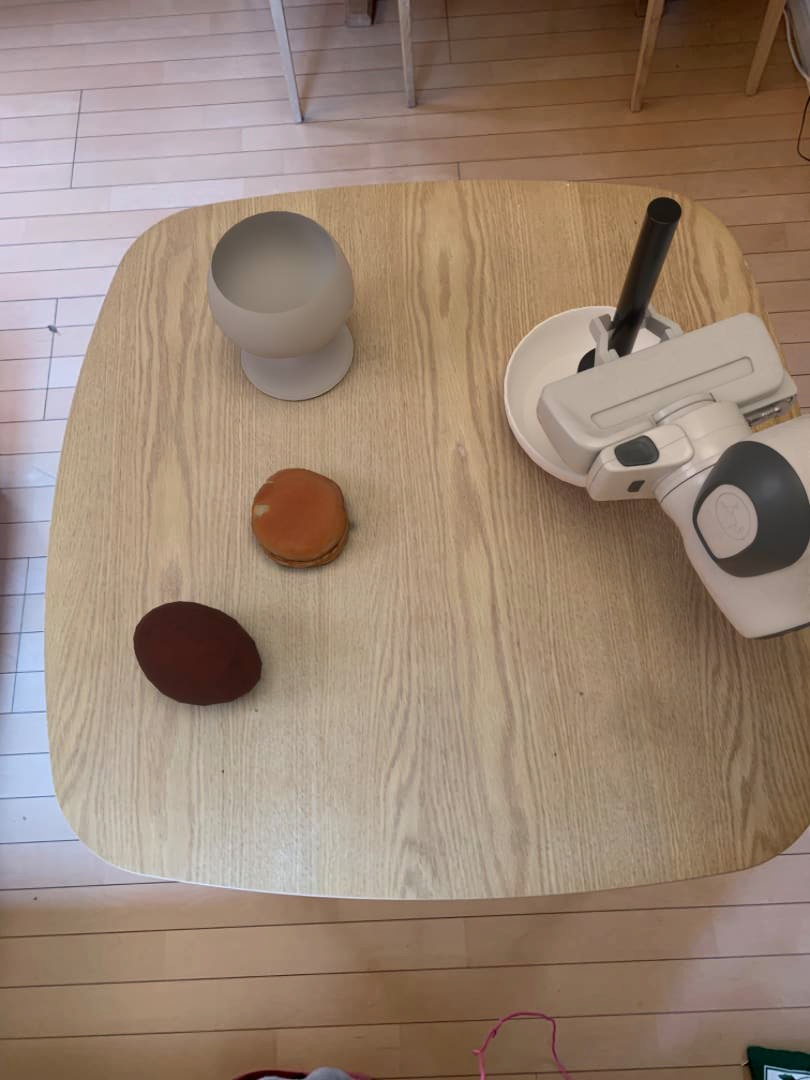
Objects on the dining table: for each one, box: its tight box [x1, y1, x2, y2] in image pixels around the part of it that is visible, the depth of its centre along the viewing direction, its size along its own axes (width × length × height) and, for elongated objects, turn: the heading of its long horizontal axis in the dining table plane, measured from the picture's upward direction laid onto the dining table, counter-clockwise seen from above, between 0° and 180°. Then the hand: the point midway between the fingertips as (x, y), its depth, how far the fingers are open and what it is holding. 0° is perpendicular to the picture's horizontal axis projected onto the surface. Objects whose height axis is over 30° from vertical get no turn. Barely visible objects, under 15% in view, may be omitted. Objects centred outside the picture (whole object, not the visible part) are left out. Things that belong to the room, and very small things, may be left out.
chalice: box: [206, 210, 355, 401], centre depth 84 cm, size 14×14×15 cm
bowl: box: [503, 305, 661, 488], centre depth 85 cm, size 20×20×6 cm
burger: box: [250, 467, 350, 569], centre depth 82 cm, size 10×9×5 cm
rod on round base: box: [576, 196, 683, 374], centre depth 71 cm, size 6×6×24 cm
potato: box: [132, 600, 263, 707], centre depth 75 cm, size 9×12×9 cm
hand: (617, 312), depth 73 cm, fingers closed on rod on round base, 2 cm apart
